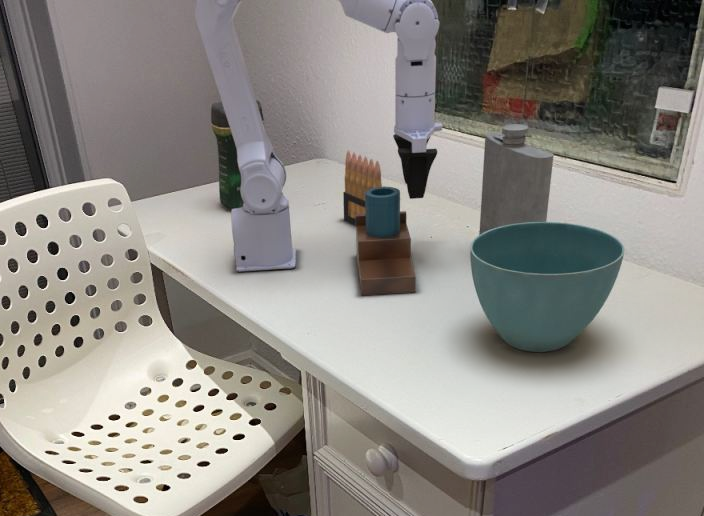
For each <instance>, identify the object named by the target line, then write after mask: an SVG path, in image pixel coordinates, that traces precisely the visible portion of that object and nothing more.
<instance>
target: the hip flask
mask: <svg viewBox="0 0 704 516" xmlns="http://www.w3.org/2000/svg"><path fill="white" fill-rule="evenodd" d="M528 133H529V126H528V125H526V124H522V123H521V124H520V123H511V124H506V125H503V126H502V127H501V131H492V132H488V133H486V134H484V151H483V152H484V153H483V165H482V166H483V168H482V184H481V200H480V201H481V202H480V217H479V218H480V219H479V235H480V234H482V233H484V232H486V231H488V230H491V229H494V228H497V227H501V226H505V225H511V224H518V223H527V222H547V220H548V219H547V218H548V210H549V200H550V191H551V182H552V174H553V173H552V172H553V165H554V155H555V154H554V153H553V152H550V151H547V150H543V149H540V148H537V147H534V146H531V145H529V144H527V143H526V141H527V140H526V138H527V136H526V135H527V134H528ZM479 235H478V236H479Z"/></svg>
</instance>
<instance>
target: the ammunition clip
mask: <svg viewBox="0 0 704 516" xmlns="http://www.w3.org/2000/svg"><path fill="white" fill-rule="evenodd" d="M344 165H345V166H344V191H343V221H344V222H346V223H348V224H350V225H352V226H355V227H356V219H355V214H366V210H365V192H366V191H367V190H369V189H372V188H376V187H383V183H382V171H381V165H380V162H379V160H376V162H375V163H374V160H373V158H370V160H368V158H367V156H364V158H363V157H362V155H361V154H359V155H358V157H357V154H356V152H353V153H352V155H351V152H350V150H347V151H346V155H345V164H344Z"/></svg>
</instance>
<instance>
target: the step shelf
mask: <svg viewBox="0 0 704 516" xmlns="http://www.w3.org/2000/svg"><path fill="white" fill-rule="evenodd" d="M355 219H356V226H355V246H356V247H355V248H356V262H357V271H358V279H359V287H360V293H361V294H360V295H361V296H377V295H379V296H380V295H393V294H408V293H411V294H413V293H416V286H417V285H416V281H417V280H416V278H417V277H416V273H415V269H414V265H413V262H412V261H413V260H412V258H411V255H412V254H411V253H412V252H411V251H412V250H411V249H412V247H411V246H412V239H411V234H410V231H409V228H408V224H407V211H406V210H404V211H403V210H402V211H401V210H400V232H399V233H398V234H397V235H394V236H391V237H372V236H369V235H368V234H367V233H366V214H355Z"/></svg>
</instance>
